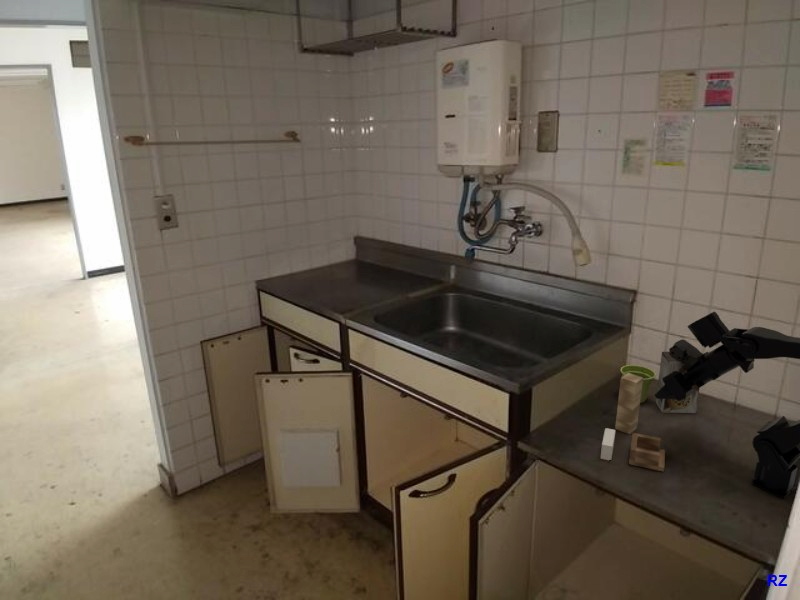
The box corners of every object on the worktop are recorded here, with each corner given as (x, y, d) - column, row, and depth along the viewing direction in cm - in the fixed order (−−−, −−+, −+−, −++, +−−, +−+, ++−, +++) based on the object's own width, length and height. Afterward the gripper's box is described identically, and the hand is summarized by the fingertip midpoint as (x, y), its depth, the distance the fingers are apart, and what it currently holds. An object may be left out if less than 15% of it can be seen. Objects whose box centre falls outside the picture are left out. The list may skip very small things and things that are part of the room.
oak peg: (636, 428, 147) (643, 377, 142) (629, 434, 144) (636, 382, 140) (622, 423, 150) (628, 372, 145) (615, 428, 147) (620, 377, 142)
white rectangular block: (613, 443, 140) (615, 430, 139) (610, 460, 133) (612, 446, 132) (603, 441, 141) (605, 428, 140) (600, 458, 134) (602, 444, 133)
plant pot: (635, 388, 168) (638, 362, 165) (659, 402, 160) (663, 375, 157) (610, 394, 165) (613, 368, 162) (633, 408, 157) (637, 381, 154)
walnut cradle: (664, 453, 136) (666, 439, 134) (663, 471, 129) (666, 456, 127) (630, 446, 139) (632, 432, 137) (628, 464, 132) (630, 449, 131)
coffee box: (687, 402, 159) (695, 351, 154) (696, 414, 153) (705, 360, 148) (654, 401, 160) (661, 350, 155) (662, 413, 154) (669, 360, 149)
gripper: (711, 324, 135) (663, 353, 147) (675, 343, 124) (625, 374, 136) (742, 362, 131) (690, 390, 143) (707, 386, 120) (654, 414, 132)
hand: (665, 391), depth 138 cm, fingers open, 9 cm apart
